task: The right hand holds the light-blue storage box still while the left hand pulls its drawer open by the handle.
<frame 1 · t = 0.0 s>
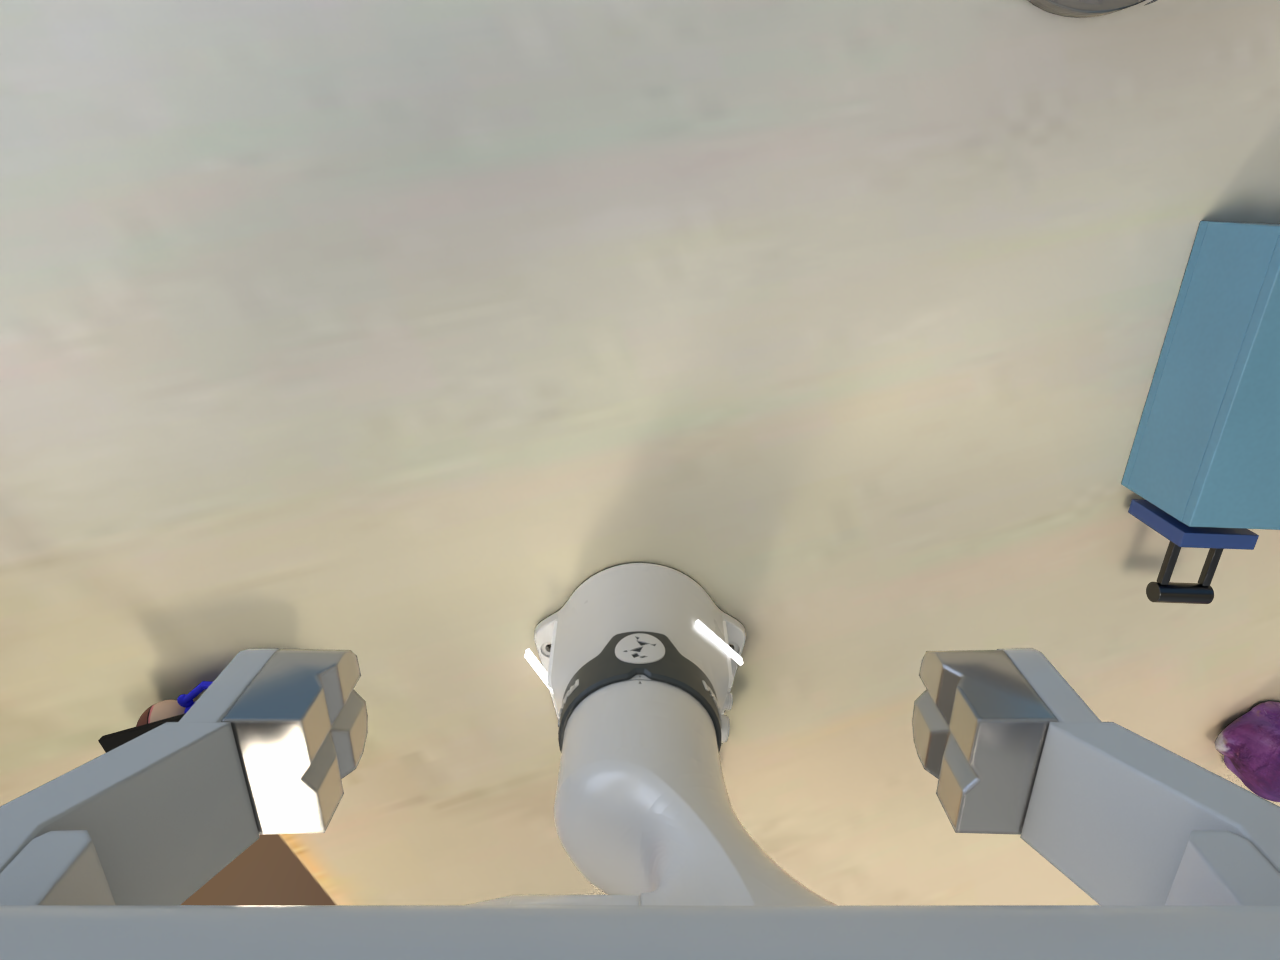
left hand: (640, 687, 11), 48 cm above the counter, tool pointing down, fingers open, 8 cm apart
figurine: (1268, 729, 71), on the counter
figurine character: (233, 695, 69), on the counter
light-blue storage box: (1201, 362, 58), on the counter
drawer: (1216, 447, 56), point 4 cm above the counter, slide at 0.9 cm
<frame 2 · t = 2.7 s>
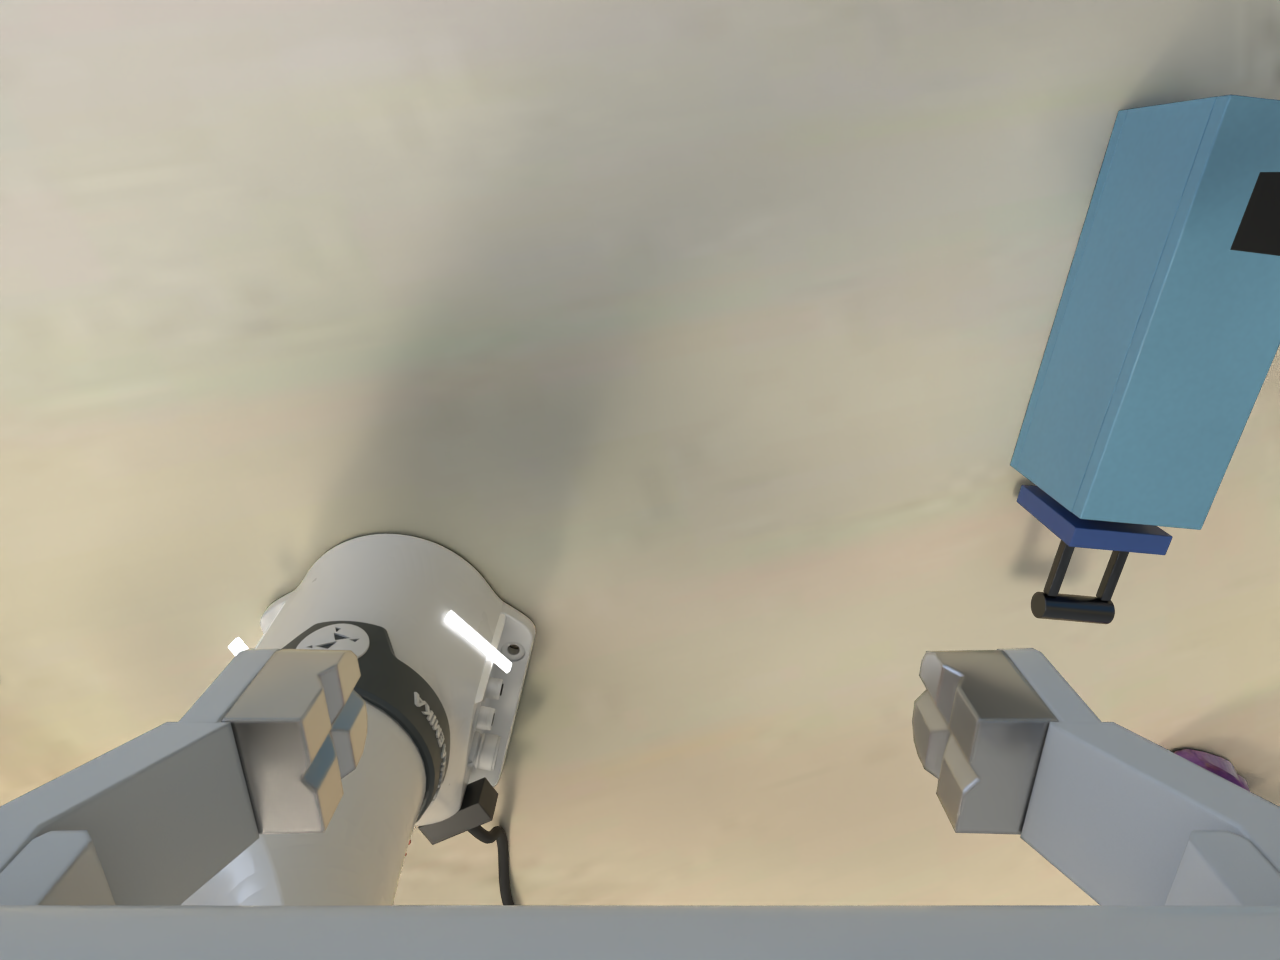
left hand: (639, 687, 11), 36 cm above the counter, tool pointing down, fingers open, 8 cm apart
figurine: (1185, 783, 58), on the counter
light-blue storage box: (1115, 309, 44), on the counter
drawer: (1125, 418, 42), point 4 cm above the counter, slide at 0.9 cm
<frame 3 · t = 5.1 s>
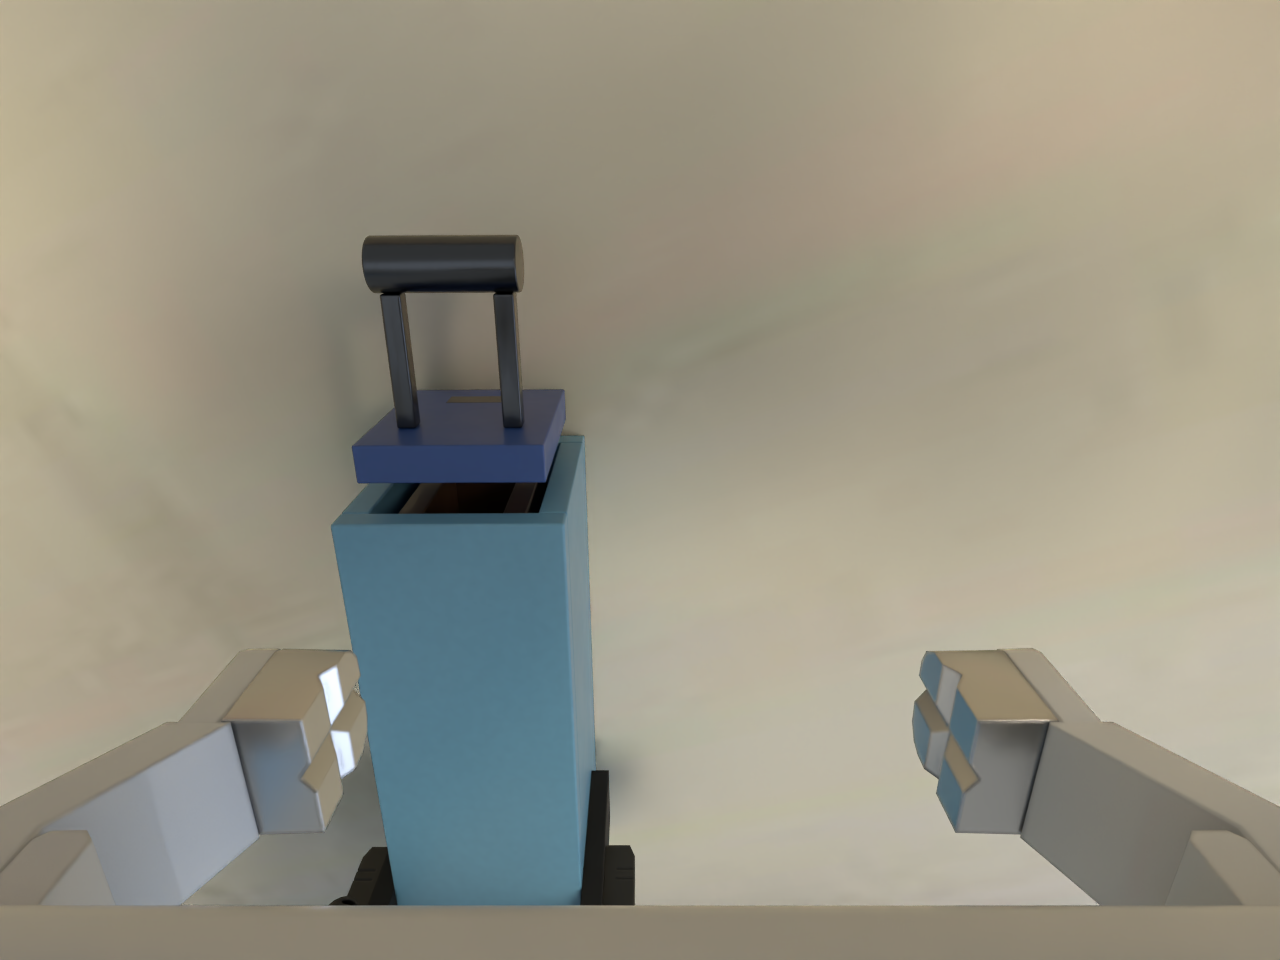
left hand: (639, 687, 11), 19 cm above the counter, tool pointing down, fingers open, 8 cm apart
light-blue storage box: (515, 656, 33), on the counter, touching right hand
drawer: (487, 595, 27), point 4 cm above the counter, slide at 0.9 cm
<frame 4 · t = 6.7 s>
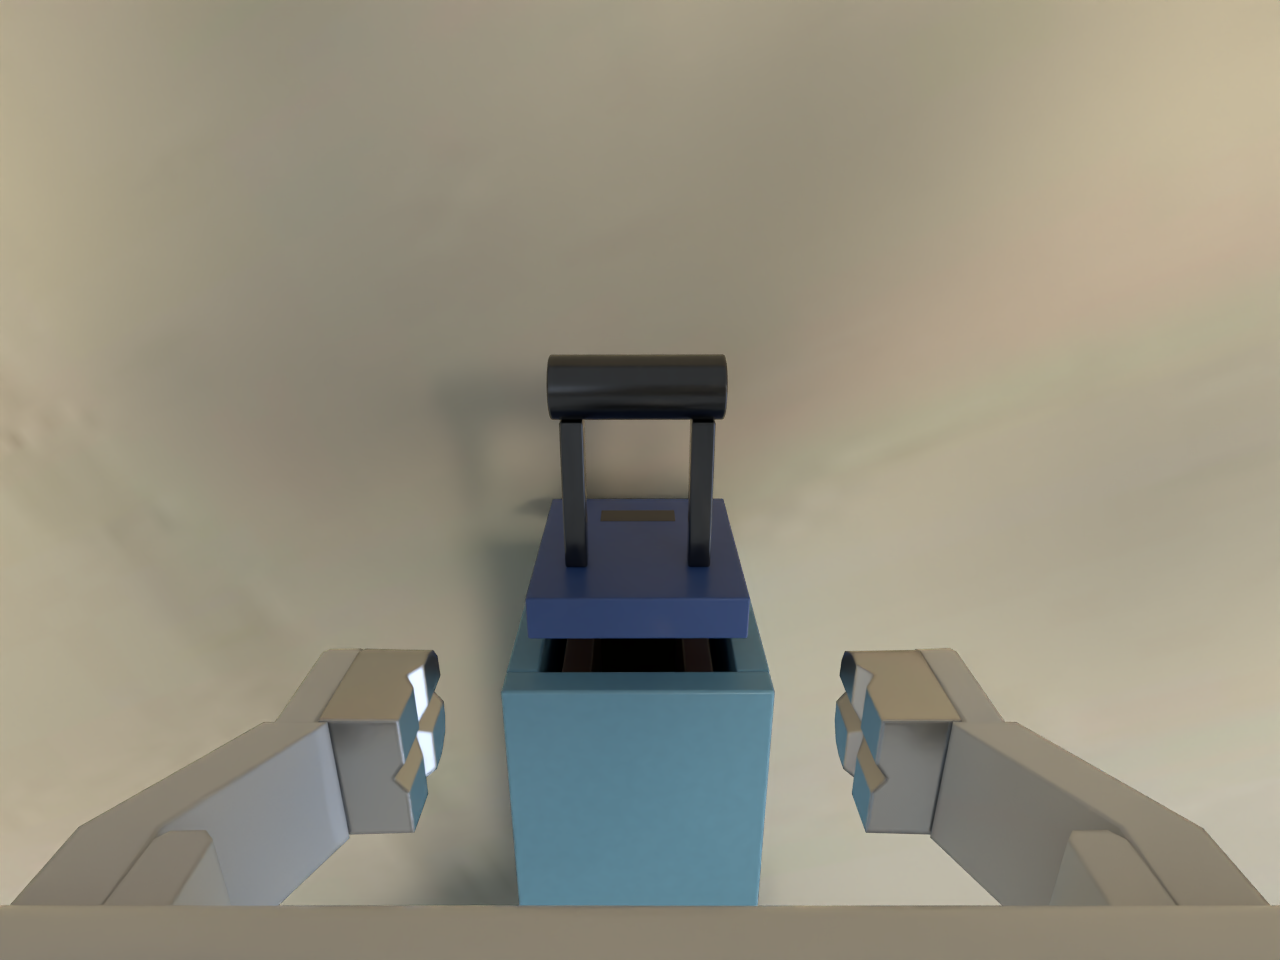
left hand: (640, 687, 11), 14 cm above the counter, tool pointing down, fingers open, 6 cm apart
light-blue storage box: (638, 773, 30), on the counter, touching right hand
drawer: (638, 732, 24), point 4 cm above the counter, slide at 0.9 cm
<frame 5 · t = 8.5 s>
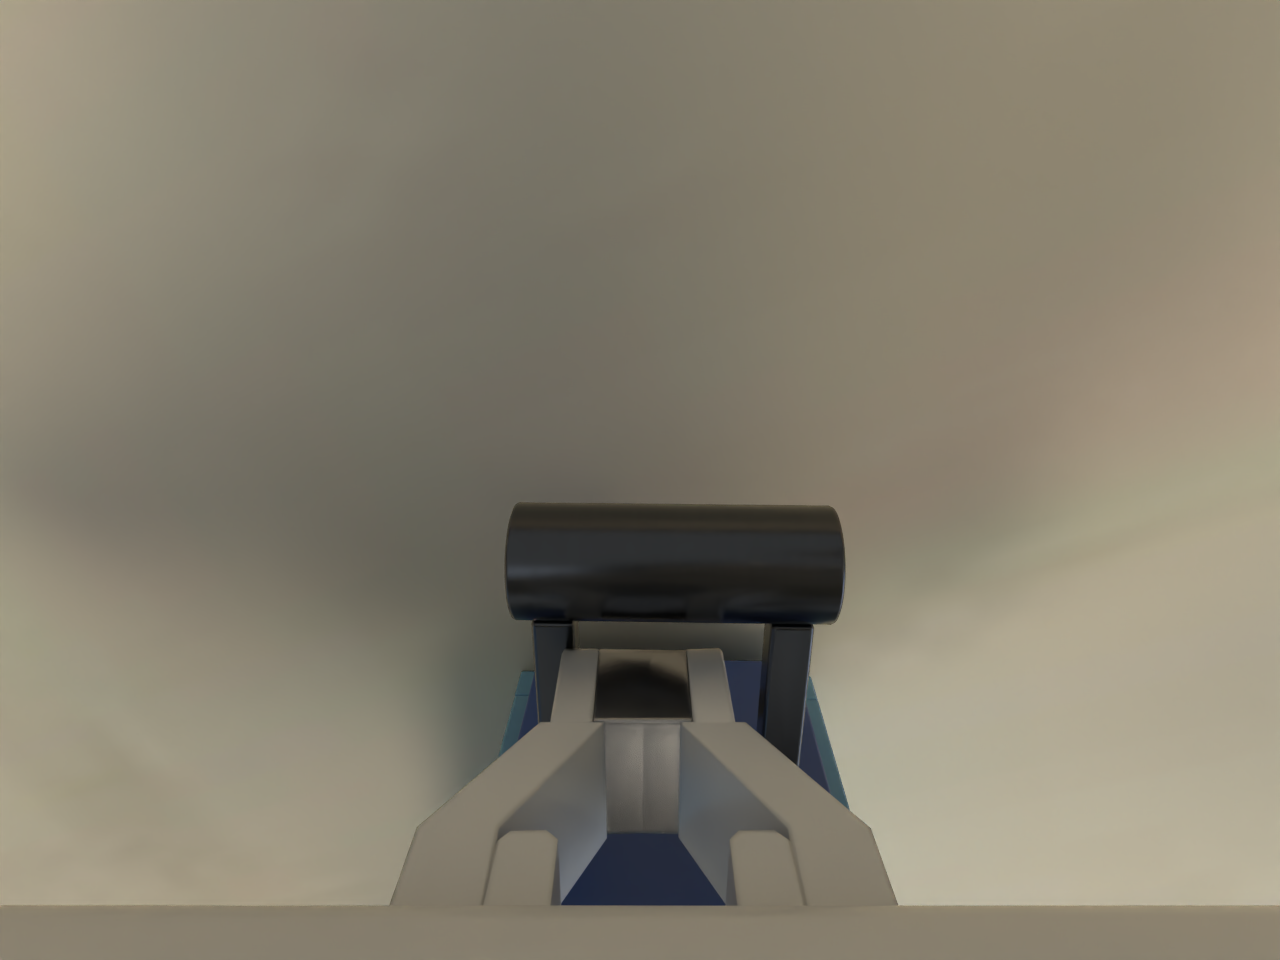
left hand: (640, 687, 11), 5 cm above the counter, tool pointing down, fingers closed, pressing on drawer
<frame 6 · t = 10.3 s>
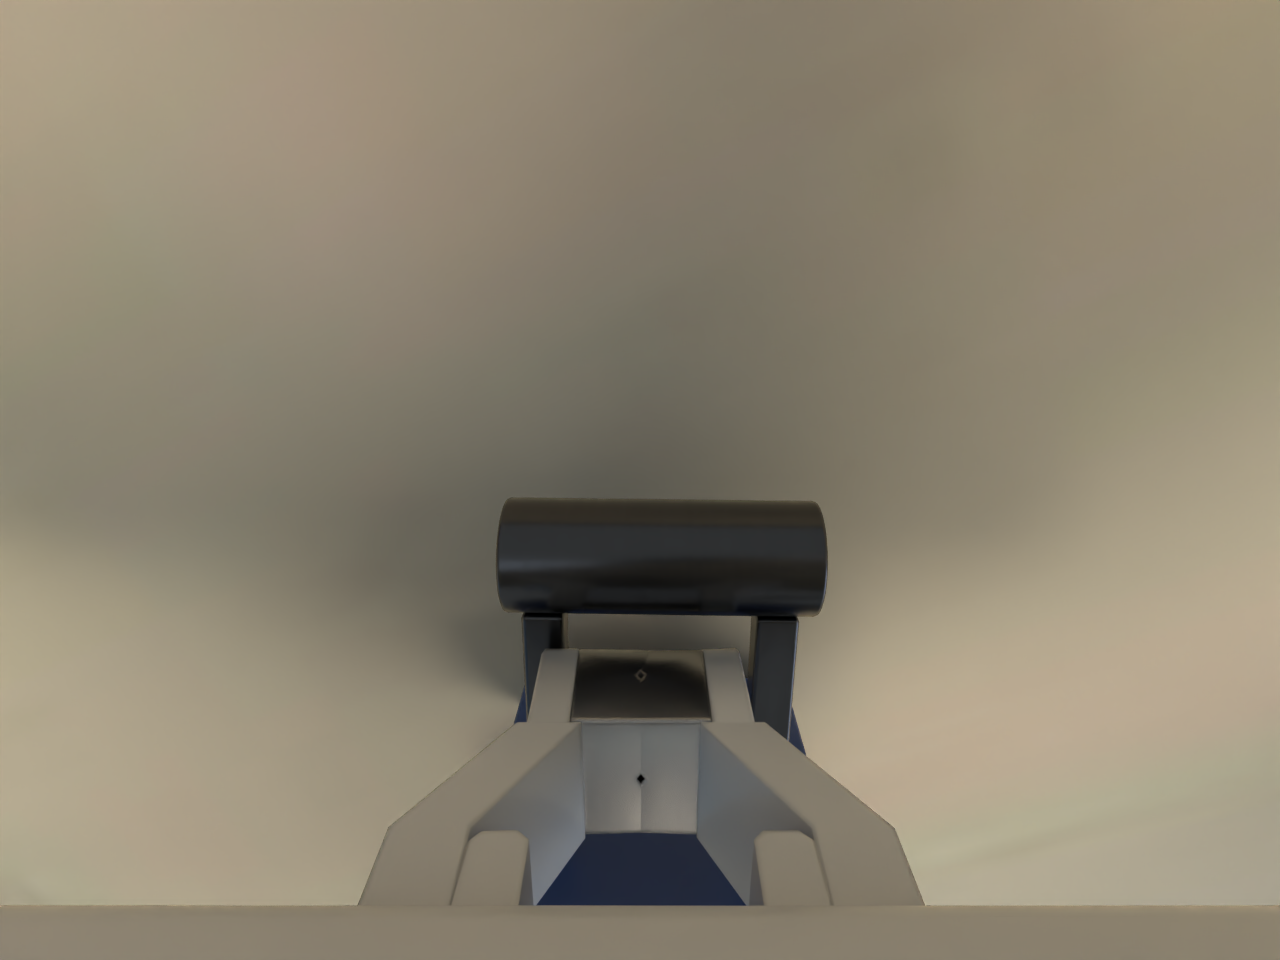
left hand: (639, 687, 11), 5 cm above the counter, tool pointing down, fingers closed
when the right hand's fingers open (3 cm above the counter, at t = 11.9 s): light-blue storage box stays where it is, on the counter.
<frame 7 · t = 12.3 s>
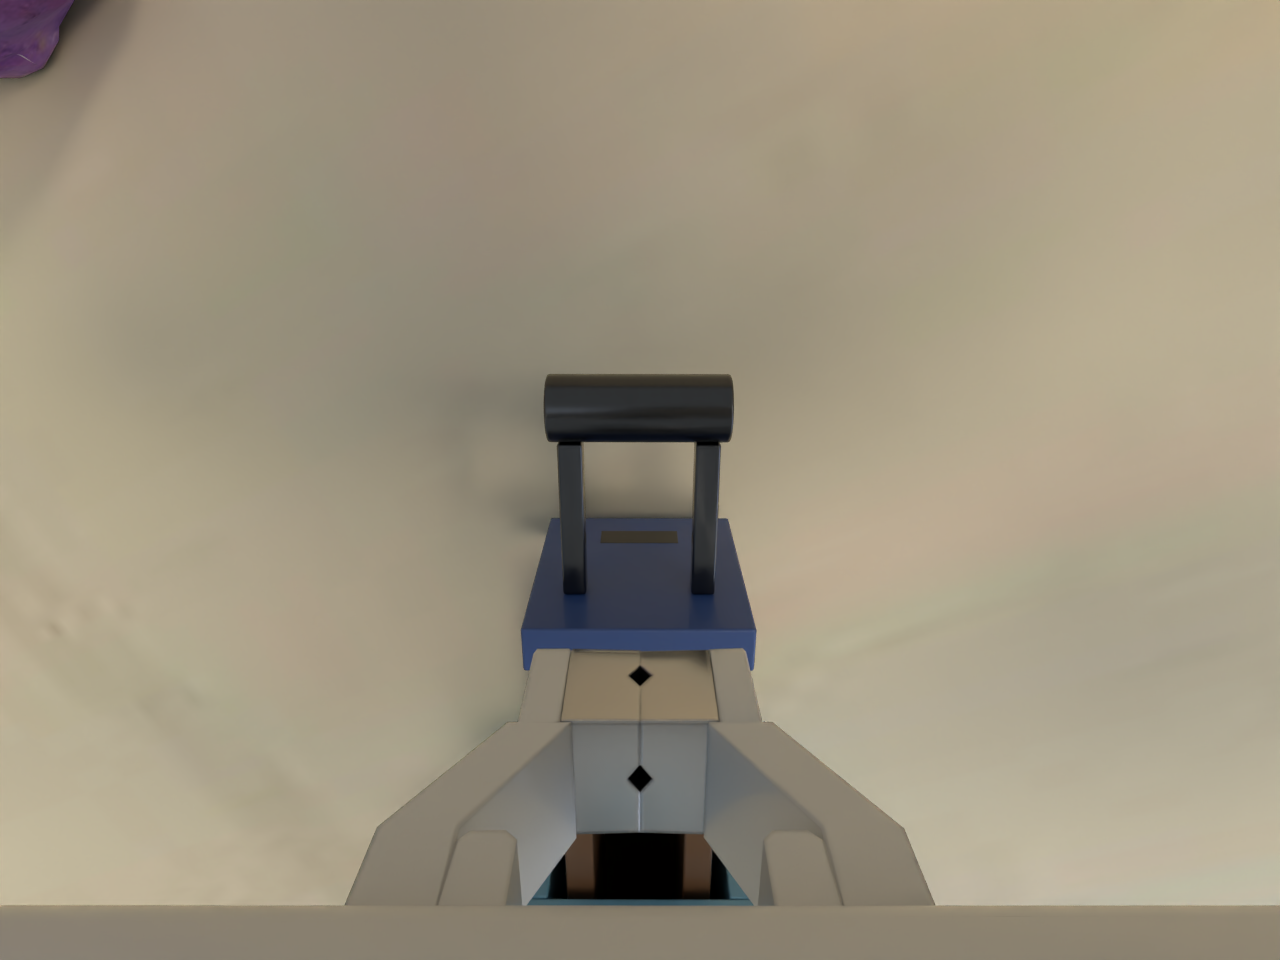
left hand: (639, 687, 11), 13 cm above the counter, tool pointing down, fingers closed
light-blue storage box: (639, 917, 31), on the counter
drawer: (638, 761, 23), point 4 cm above the counter, slide at 7.6 cm
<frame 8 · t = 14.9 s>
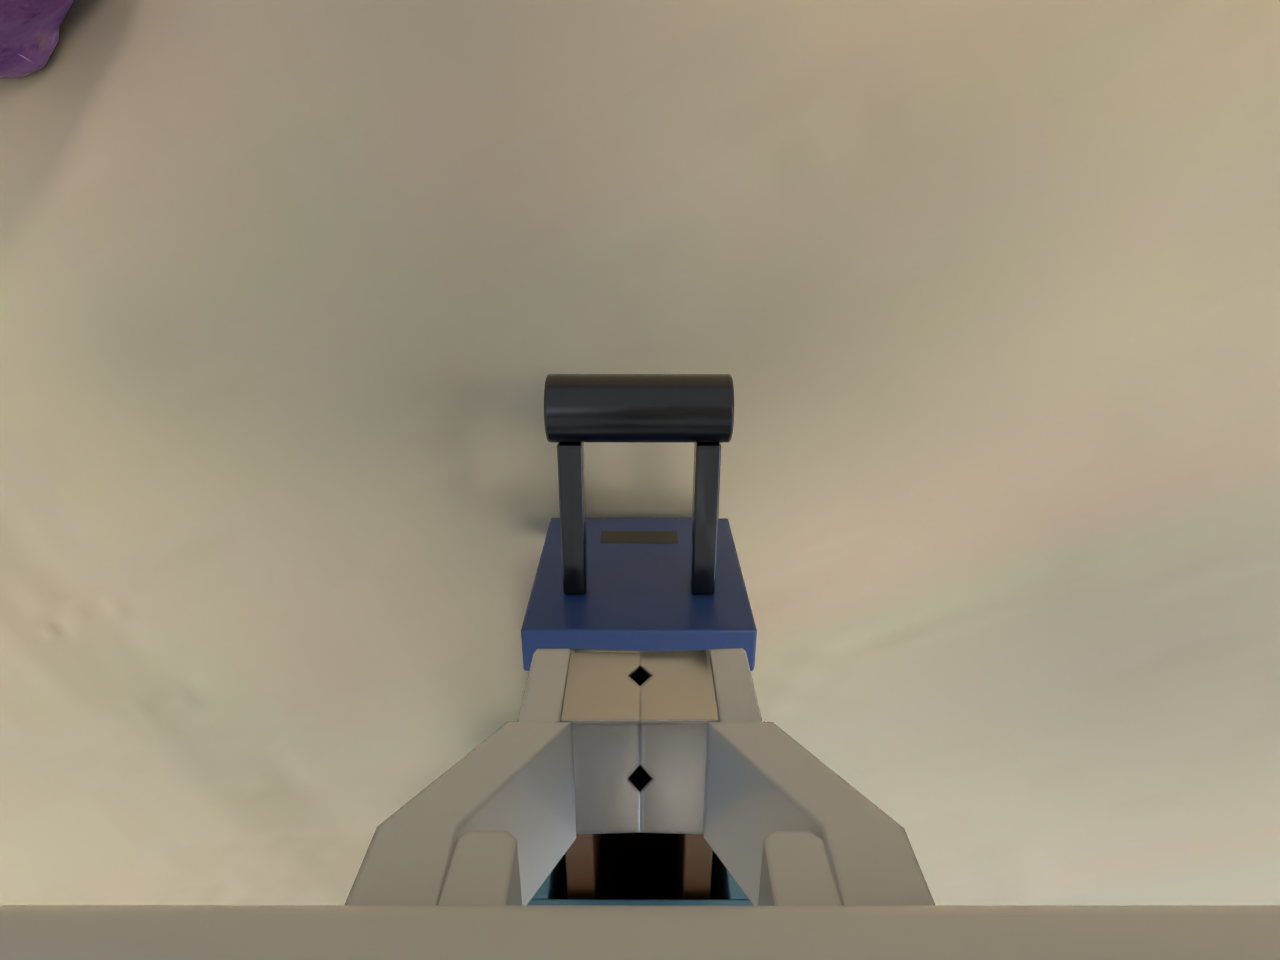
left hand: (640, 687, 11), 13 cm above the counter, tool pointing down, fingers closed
light-blue storage box: (639, 917, 31), on the counter
drawer: (639, 761, 23), point 4 cm above the counter, slide at 7.6 cm
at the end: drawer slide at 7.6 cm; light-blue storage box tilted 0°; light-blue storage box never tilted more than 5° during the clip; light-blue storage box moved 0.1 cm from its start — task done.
